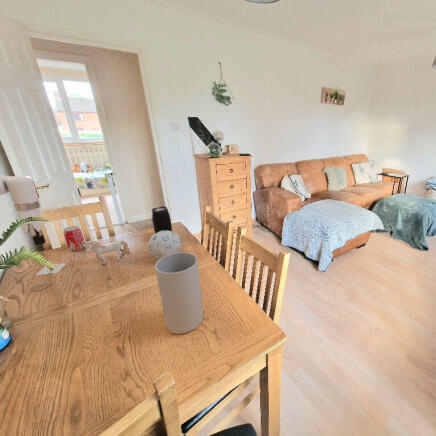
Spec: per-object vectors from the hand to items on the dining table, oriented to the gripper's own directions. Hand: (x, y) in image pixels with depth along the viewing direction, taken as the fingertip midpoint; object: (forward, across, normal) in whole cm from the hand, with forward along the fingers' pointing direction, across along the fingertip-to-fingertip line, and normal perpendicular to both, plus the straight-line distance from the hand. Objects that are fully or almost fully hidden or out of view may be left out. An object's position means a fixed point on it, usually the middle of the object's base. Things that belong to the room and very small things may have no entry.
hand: (40, 243), depth 108 cm
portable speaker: (+10, -3, +50) cm, 51 cm away
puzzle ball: (+10, +20, +48) cm, 53 cm away
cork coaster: (+12, +18, 0) cm, 22 cm away
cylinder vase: (+10, +68, +46) cm, 83 cm away
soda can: (+12, -13, +10) cm, 20 cm away
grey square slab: (+12, +4, +2) cm, 13 cm away
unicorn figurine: (+11, +12, +24) cm, 29 cm away
